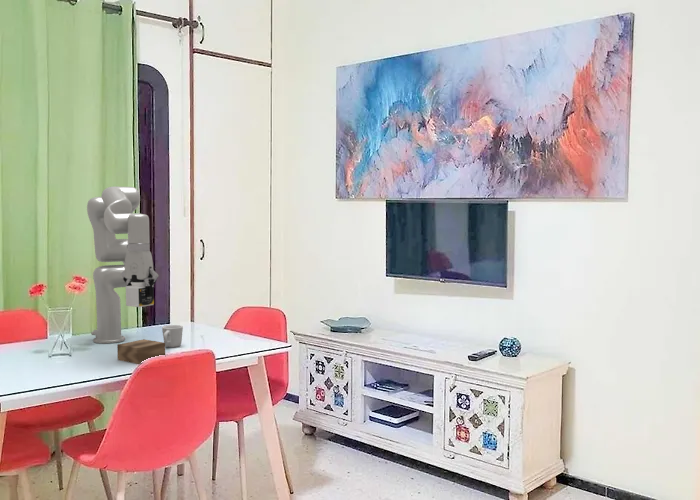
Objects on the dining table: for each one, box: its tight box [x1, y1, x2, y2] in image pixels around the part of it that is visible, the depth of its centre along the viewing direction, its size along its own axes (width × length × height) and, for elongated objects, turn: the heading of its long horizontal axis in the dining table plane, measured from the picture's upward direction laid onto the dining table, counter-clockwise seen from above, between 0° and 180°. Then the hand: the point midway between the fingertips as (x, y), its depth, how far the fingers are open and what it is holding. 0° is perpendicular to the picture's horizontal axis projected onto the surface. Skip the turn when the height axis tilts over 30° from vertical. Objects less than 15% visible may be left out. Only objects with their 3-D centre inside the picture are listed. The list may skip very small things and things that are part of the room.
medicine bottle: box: [125, 275, 155, 308], centre depth 255 cm, size 7×7×12 cm
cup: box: [161, 324, 184, 348], centre depth 278 cm, size 11×8×8 cm
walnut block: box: [116, 338, 166, 365], centre depth 257 cm, size 12×12×6 cm
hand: (140, 295), depth 256 cm, fingers closed on medicine bottle, 7 cm apart
